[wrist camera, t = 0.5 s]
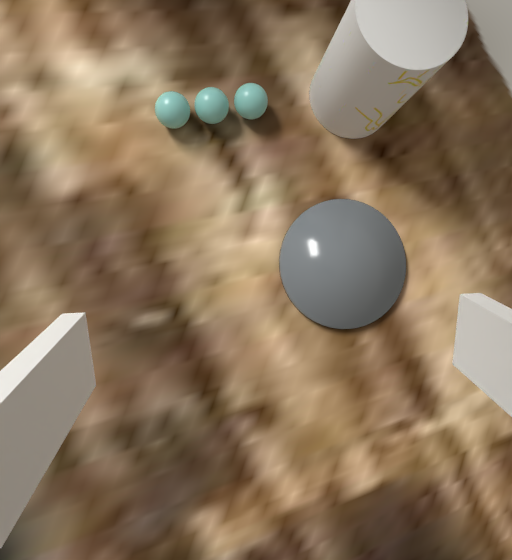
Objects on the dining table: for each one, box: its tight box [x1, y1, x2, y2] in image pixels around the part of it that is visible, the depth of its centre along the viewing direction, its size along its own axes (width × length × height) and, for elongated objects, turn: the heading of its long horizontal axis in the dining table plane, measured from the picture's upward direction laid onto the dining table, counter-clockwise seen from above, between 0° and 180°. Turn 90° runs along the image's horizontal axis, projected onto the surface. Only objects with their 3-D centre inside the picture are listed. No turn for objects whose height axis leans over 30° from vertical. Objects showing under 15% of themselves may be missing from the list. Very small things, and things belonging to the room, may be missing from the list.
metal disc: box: [279, 199, 406, 329], centre depth 39 cm, size 12×12×1 cm
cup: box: [309, 0, 468, 139], centre depth 35 cm, size 8×8×12 cm
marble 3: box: [155, 91, 190, 129], centre depth 37 cm, size 3×3×3 cm
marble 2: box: [195, 87, 229, 124], centre depth 37 cm, size 3×3×3 cm
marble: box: [234, 83, 268, 119], centre depth 38 cm, size 3×3×3 cm
